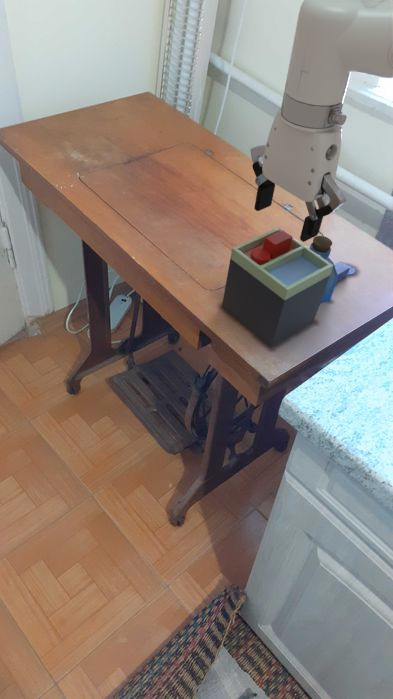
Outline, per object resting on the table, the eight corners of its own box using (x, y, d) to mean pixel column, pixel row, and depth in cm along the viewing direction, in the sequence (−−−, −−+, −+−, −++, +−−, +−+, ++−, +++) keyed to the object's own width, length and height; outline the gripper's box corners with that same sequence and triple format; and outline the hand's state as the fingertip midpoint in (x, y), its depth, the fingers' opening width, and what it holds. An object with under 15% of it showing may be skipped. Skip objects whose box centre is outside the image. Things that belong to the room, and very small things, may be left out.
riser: (263, 288, 97) (276, 237, 89) (312, 325, 92) (330, 275, 84) (221, 310, 92) (230, 258, 84) (269, 351, 87) (284, 300, 79)
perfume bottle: (281, 288, 98) (297, 233, 89) (311, 283, 100) (328, 228, 91) (298, 311, 94) (316, 255, 85) (328, 304, 96) (348, 249, 87)
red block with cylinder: (277, 243, 87) (281, 228, 85) (290, 252, 86) (294, 237, 84) (246, 257, 84) (249, 242, 82) (259, 267, 82) (263, 252, 80)
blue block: (333, 288, 99) (338, 276, 97) (321, 279, 101) (325, 267, 99) (357, 275, 103) (361, 263, 101) (344, 266, 104) (349, 255, 102)
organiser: (276, 237, 89) (278, 227, 88) (330, 275, 84) (333, 265, 82) (230, 258, 84) (232, 248, 83) (284, 300, 79) (287, 290, 77)
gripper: (382, 128, 67) (344, 242, 79) (282, 79, 75) (262, 189, 88) (344, 143, 63) (310, 260, 76) (243, 90, 72) (228, 203, 84)
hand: (284, 222), depth 82 cm, fingers open, 9 cm apart
